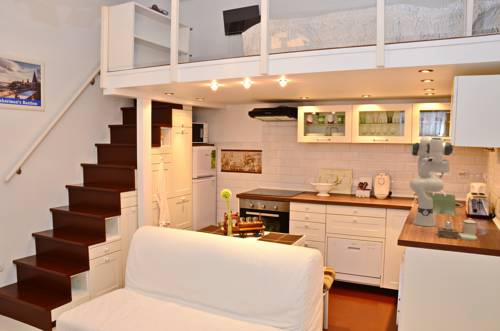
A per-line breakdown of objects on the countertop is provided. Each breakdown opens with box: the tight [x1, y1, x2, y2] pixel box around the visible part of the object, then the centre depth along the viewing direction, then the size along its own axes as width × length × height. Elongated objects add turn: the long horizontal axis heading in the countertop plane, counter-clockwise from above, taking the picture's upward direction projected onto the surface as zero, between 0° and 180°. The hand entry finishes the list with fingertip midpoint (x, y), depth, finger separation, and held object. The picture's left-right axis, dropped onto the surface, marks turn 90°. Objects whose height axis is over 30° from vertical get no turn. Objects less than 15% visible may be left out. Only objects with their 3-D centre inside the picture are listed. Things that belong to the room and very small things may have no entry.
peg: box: [444, 220, 453, 231], centre depth 282 cm, size 4×4×11 cm
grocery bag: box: [425, 190, 457, 216], centre depth 375 cm, size 32×14×23 cm, turn 71°
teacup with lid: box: [458, 217, 477, 236], centre depth 293 cm, size 12×9×12 cm
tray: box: [458, 232, 478, 242], centre depth 278 cm, size 12×10×2 cm
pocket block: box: [437, 226, 459, 240], centre depth 282 cm, size 12×12×5 cm
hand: (434, 177), depth 287 cm, fingers open, 8 cm apart
